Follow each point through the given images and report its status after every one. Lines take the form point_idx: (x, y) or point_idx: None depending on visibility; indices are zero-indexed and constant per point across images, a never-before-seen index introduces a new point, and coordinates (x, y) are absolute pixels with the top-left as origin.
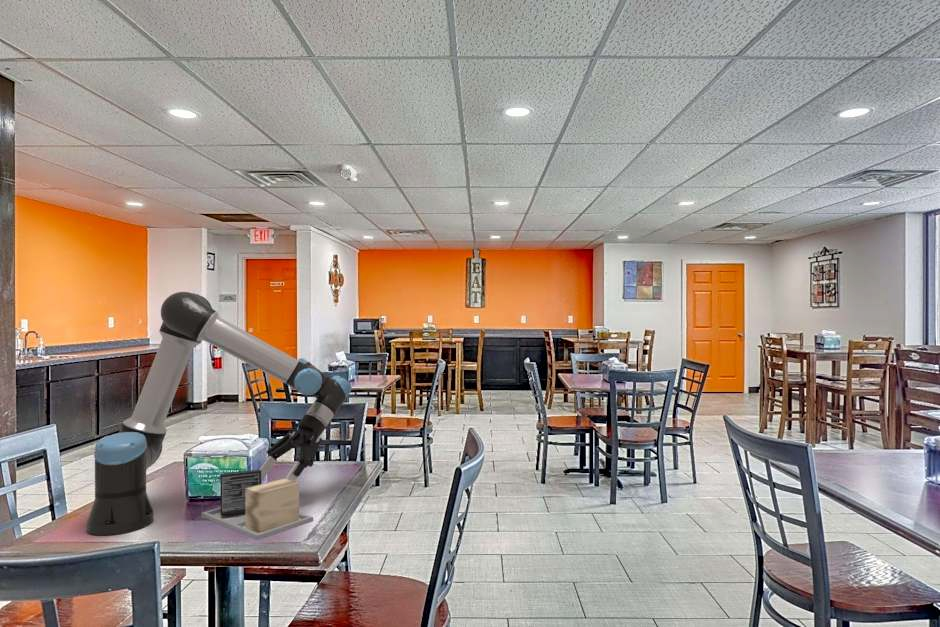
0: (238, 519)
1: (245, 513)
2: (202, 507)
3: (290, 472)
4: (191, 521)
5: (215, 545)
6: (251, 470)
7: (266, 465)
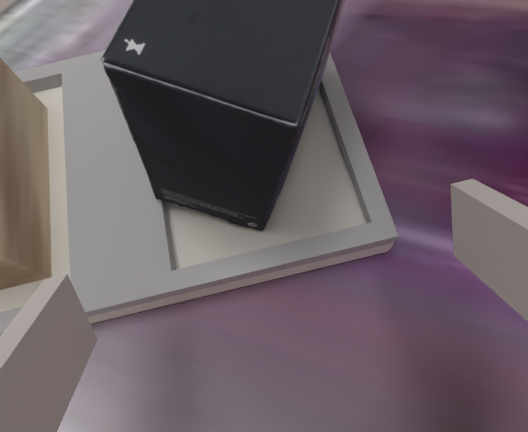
0: (112, 90)
1: (7, 67)
2: (521, 61)
3: (3, 341)
4: (344, 9)
5: (44, 33)
6: (225, 28)
7: (524, 253)
